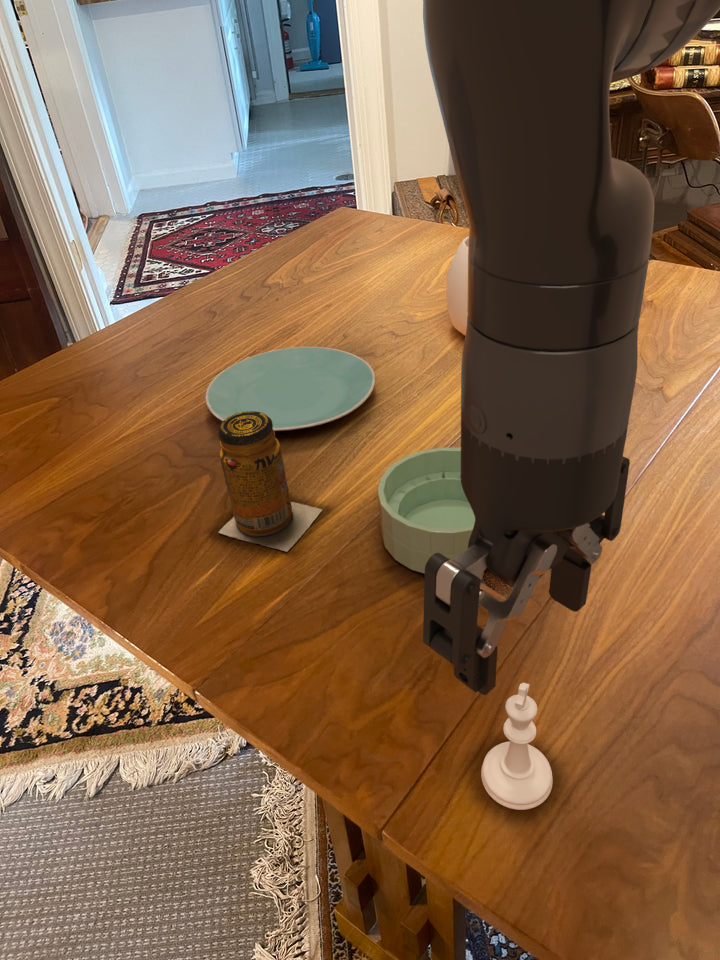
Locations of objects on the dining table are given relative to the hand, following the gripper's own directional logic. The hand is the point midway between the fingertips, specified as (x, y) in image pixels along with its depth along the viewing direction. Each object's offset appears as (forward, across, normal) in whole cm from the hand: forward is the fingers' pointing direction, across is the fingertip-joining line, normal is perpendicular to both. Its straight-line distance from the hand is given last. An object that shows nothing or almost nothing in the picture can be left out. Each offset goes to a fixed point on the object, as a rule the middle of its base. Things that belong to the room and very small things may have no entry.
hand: (523, 640), depth 43 cm
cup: (+15, +54, +47) cm, 73 cm away
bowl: (+14, +16, +21) cm, 30 cm away
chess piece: (+14, 0, 0) cm, 14 cm away
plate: (+15, +22, +54) cm, 60 cm away
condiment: (+15, +5, +36) cm, 39 cm away
